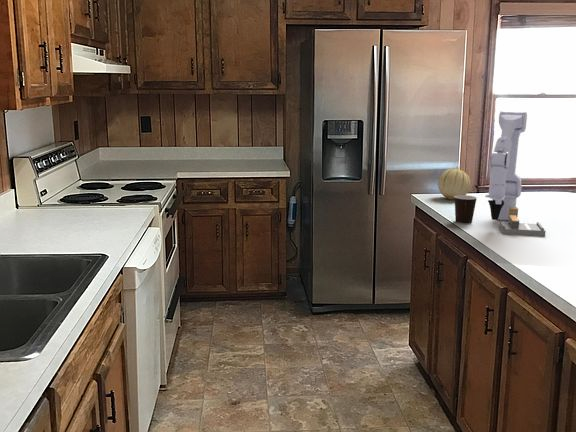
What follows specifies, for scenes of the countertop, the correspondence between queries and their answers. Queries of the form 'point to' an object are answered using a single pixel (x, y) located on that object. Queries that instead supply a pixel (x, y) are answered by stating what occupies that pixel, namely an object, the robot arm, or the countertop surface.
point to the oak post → (513, 212)
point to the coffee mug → (464, 208)
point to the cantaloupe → (453, 183)
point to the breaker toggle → (513, 221)
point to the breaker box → (522, 229)
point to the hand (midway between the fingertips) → (494, 219)
